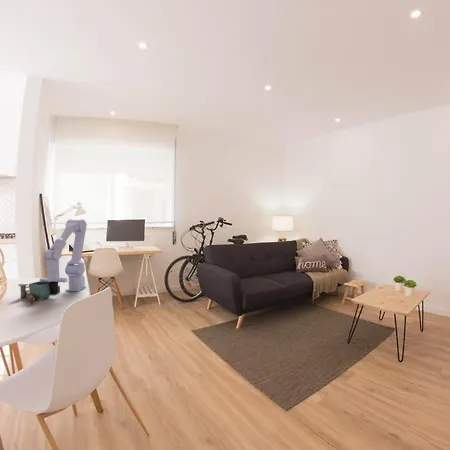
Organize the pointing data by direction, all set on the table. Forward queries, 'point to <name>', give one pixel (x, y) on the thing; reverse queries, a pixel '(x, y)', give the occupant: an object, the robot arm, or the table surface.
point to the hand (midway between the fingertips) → (54, 294)
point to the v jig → (28, 293)
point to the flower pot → (40, 290)
